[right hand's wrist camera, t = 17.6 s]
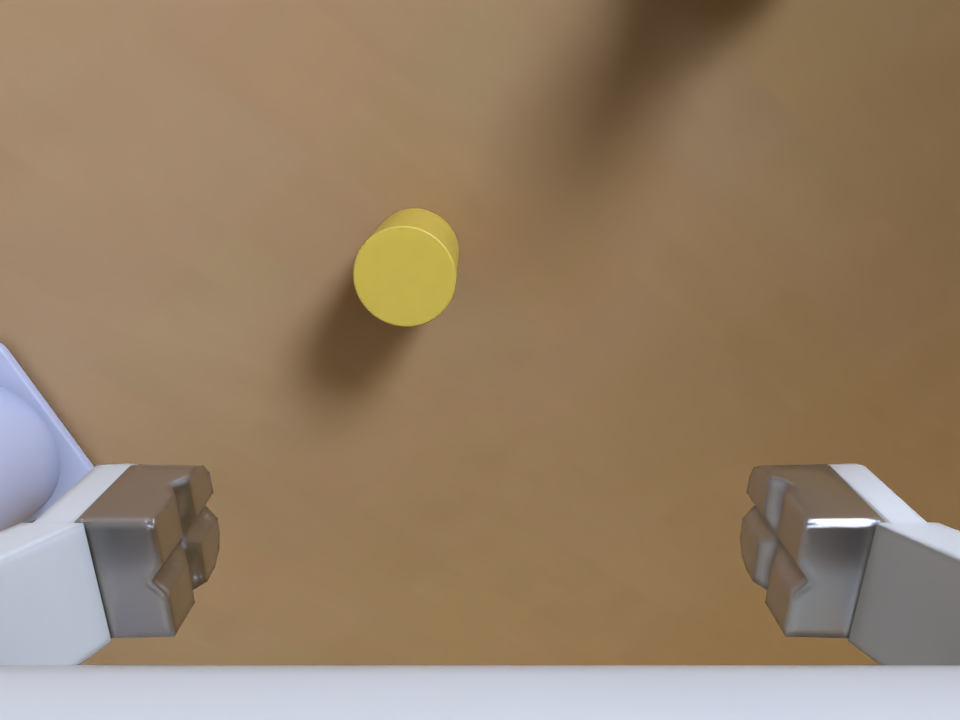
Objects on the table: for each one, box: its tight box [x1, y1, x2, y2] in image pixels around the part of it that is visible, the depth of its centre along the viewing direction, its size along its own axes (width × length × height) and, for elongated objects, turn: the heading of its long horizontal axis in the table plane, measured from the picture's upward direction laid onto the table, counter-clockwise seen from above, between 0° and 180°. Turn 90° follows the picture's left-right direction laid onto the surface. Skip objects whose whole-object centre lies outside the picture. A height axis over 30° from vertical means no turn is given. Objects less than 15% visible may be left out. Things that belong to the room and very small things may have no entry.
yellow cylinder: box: [353, 208, 459, 327], centre depth 26 cm, size 4×4×5 cm
